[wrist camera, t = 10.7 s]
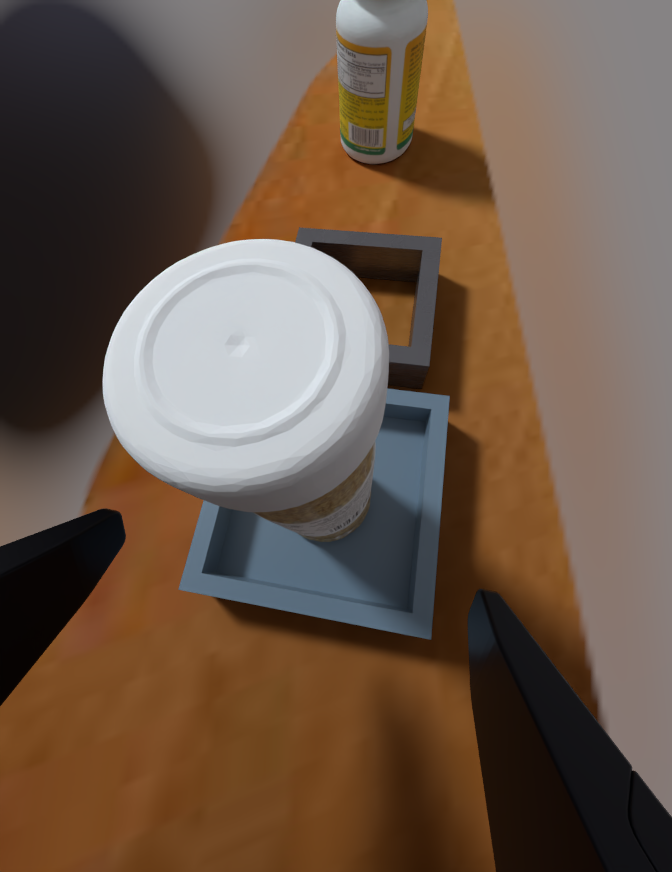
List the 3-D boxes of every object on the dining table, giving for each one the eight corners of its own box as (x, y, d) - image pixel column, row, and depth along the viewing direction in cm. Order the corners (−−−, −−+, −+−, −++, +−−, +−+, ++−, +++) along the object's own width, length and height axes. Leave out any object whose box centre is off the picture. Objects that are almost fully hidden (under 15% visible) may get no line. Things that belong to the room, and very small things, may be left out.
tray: (421, 628, 17) (431, 639, 14) (202, 586, 18) (178, 589, 15) (439, 415, 20) (449, 396, 18) (254, 392, 21) (240, 370, 19)
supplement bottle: (355, 175, 26) (352, -26, 17) (331, 130, 28) (317, -73, 19) (424, 153, 27) (456, -56, 18) (396, 110, 29) (412, -100, 19)
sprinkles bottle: (339, 436, 19) (292, 185, 6) (389, 510, 18) (459, 375, 5) (263, 483, 18) (48, 311, 6) (309, 564, 17) (157, 566, 4)
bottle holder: (421, 388, 21) (429, 366, 18) (277, 371, 22) (267, 348, 19) (433, 270, 23) (441, 237, 21) (305, 260, 24) (299, 227, 22)
